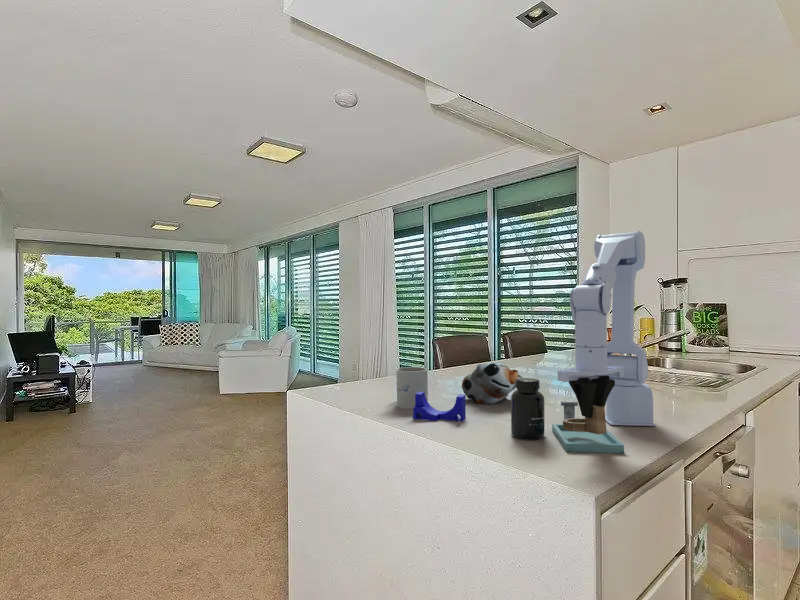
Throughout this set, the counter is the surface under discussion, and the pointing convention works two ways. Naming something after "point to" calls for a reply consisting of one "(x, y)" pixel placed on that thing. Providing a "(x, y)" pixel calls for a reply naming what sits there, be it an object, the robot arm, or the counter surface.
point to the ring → (588, 422)
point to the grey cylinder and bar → (569, 409)
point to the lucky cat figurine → (490, 383)
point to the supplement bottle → (527, 410)
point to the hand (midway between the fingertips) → (592, 416)
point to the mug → (410, 385)
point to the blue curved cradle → (429, 413)
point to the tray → (587, 441)
